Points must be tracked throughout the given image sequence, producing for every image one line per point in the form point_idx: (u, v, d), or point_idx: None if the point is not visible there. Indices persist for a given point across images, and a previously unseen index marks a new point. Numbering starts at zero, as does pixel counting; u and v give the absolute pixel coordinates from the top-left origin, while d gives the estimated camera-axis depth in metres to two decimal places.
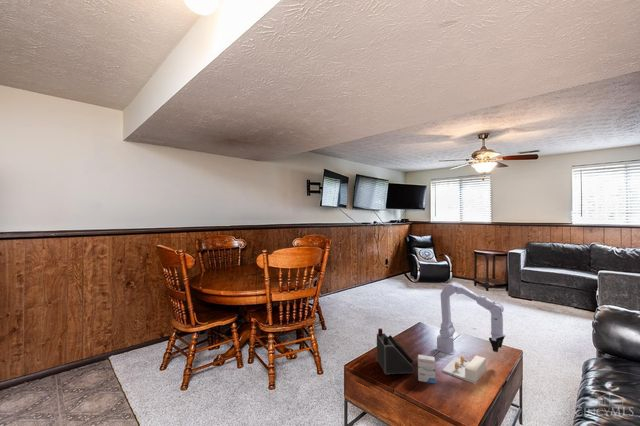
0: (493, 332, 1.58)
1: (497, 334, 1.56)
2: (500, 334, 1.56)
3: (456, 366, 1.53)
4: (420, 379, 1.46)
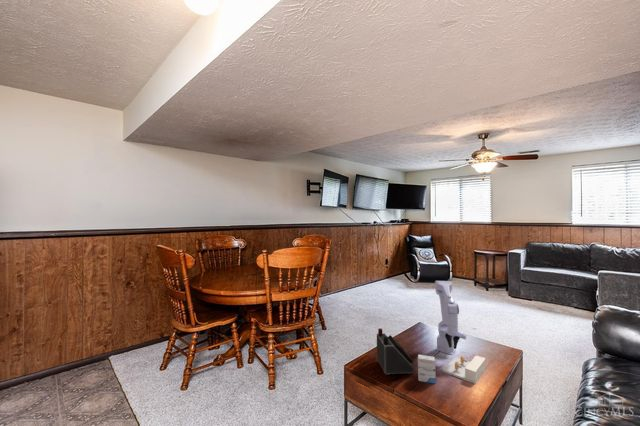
0: None
1: (447, 330, 1.66)
2: (447, 331, 1.65)
3: (456, 366, 1.53)
4: (420, 379, 1.46)
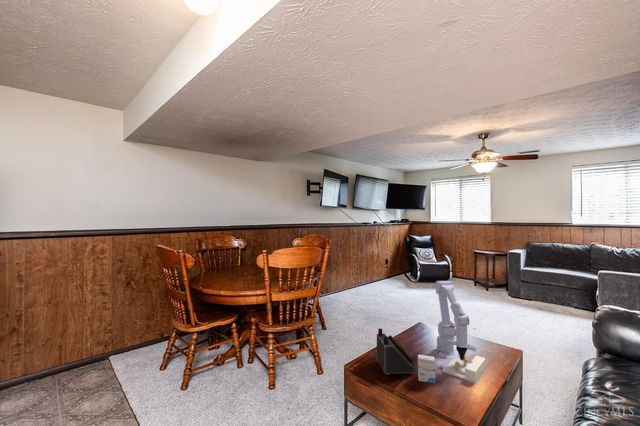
0: None
1: (456, 342, 1.62)
2: (457, 343, 1.61)
3: (456, 366, 1.53)
4: (420, 379, 1.46)
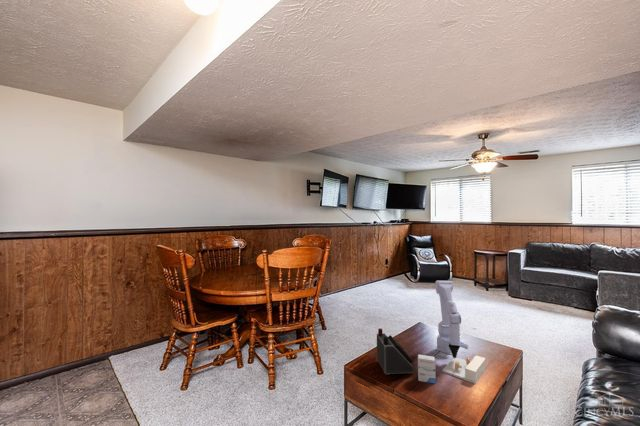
0: None
1: (449, 340, 1.65)
2: (449, 341, 1.64)
3: (456, 366, 1.53)
4: (420, 379, 1.46)
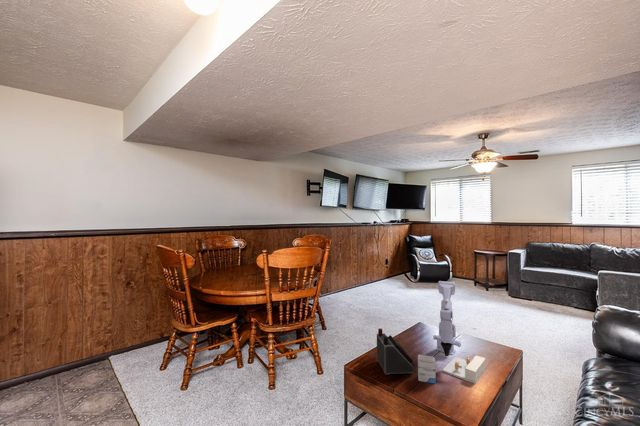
0: None
1: (441, 337, 1.60)
2: (441, 338, 1.58)
3: (456, 366, 1.53)
4: (420, 379, 1.46)
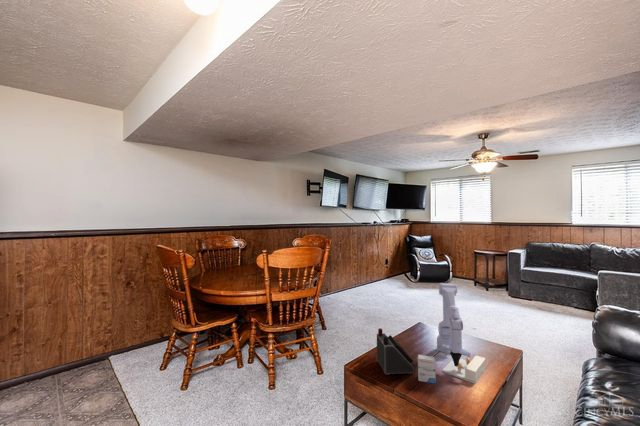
0: None
1: (450, 347, 1.56)
2: (451, 348, 1.55)
3: (459, 367, 1.52)
4: (420, 379, 1.46)
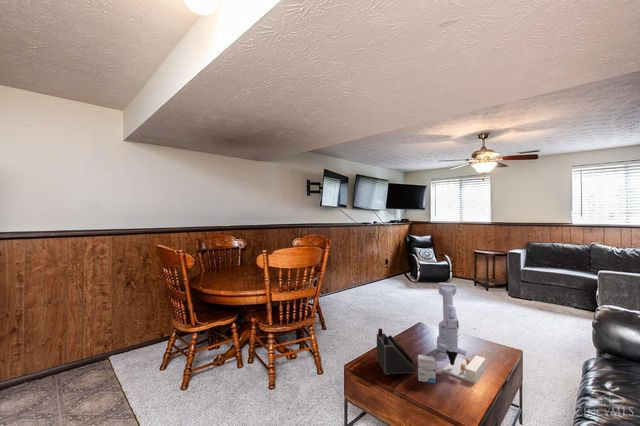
0: None
1: (446, 346, 1.58)
2: (447, 347, 1.56)
3: (462, 368, 1.51)
4: (420, 379, 1.46)
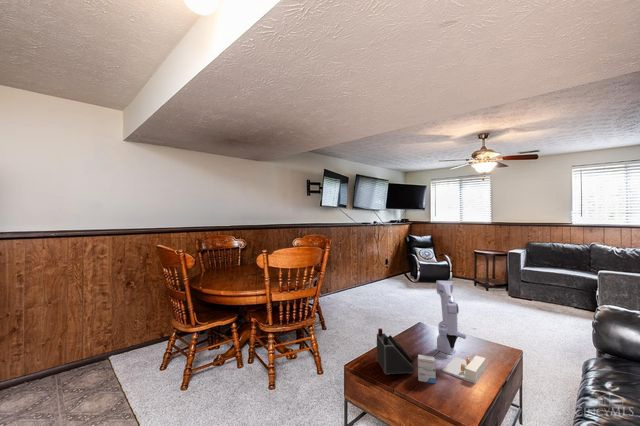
0: None
1: (446, 330, 1.64)
2: (447, 331, 1.63)
3: (462, 368, 1.51)
4: (420, 379, 1.46)
